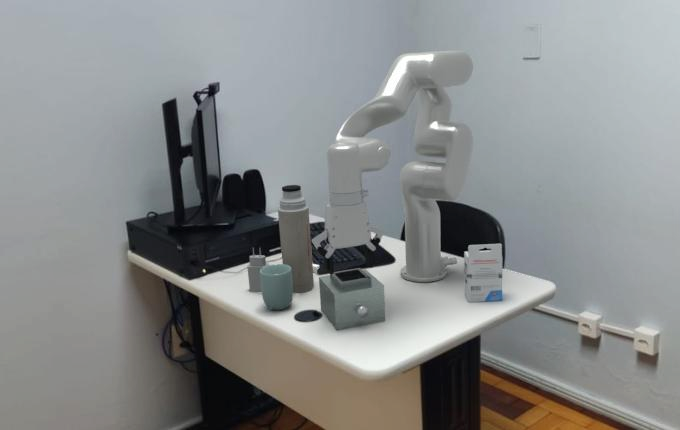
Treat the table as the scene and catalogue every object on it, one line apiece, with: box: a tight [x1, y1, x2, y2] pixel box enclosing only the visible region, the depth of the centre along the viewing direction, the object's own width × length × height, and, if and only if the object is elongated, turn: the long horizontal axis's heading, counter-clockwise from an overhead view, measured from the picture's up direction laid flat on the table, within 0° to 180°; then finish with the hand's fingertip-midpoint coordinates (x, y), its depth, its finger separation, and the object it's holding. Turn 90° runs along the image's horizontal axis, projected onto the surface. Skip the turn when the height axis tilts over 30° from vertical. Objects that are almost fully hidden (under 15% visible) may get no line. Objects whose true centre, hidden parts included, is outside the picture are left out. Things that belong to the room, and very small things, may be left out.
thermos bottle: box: [277, 184, 315, 294], centre depth 163 cm, size 8×8×28 cm
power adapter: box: [247, 247, 270, 293], centre depth 165 cm, size 3×5×12 cm, turn 80°
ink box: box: [463, 243, 503, 303], centre depth 152 cm, size 8×5×15 cm, turn 90°
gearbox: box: [318, 267, 386, 331], centre depth 146 cm, size 12×14×10 cm
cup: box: [260, 263, 294, 311], centre depth 154 cm, size 8×8×10 cm
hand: (349, 269), depth 145 cm, fingers open, 9 cm apart
